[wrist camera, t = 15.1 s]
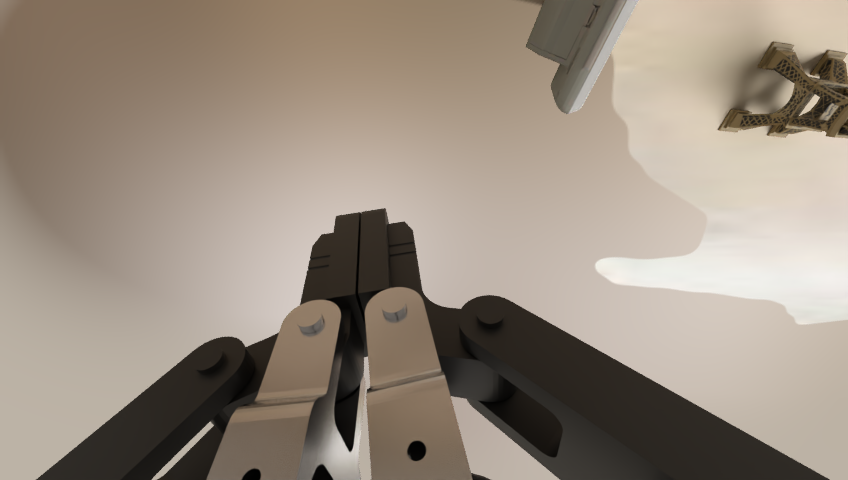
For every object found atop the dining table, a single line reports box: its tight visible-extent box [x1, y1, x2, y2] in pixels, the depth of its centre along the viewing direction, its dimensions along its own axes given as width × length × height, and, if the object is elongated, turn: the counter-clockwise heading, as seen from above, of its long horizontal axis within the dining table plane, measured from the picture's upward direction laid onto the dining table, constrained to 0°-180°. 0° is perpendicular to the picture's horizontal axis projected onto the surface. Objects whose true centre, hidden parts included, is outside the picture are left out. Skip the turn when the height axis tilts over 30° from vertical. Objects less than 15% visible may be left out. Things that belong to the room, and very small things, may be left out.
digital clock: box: [526, 0, 639, 114], centre depth 35 cm, size 16×9×11 cm, turn 152°
